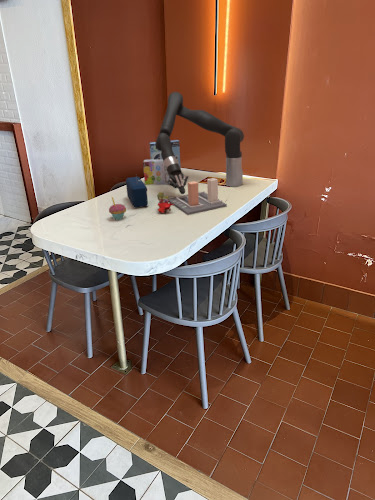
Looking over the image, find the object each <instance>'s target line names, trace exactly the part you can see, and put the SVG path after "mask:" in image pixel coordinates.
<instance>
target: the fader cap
mask: <svg viewBox="0 0 375 500" xmlns="http://www.w3.org/2000/svg"><path fill="white" fill-rule="evenodd" d="M198 192H199V183H198V182H197V181H187V195H188V205H190V206H196V205H199V195H198Z"/></svg>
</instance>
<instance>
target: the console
mask: <svg viewBox="0 0 375 500" xmlns="http://www.w3.org/2000/svg"><path fill="white" fill-rule="evenodd" d="M198 195H199V205H196V206H190V205H188V194H182V195H178V196H173V197H169V202H168V204H170V202H171V204H174V205H173V206H174V207H175V208H177V209H178V210H180V211H181V212H182V213H185V214H186V215H187V216H189V215H194V214H200V213H203V212H207V211H211V210H216V209H221V208H225V207H228V206H227V203H225V202H224V201H223V200H221V199H219V198H218V201H215V202H209V201H208V192H206V191H198Z"/></svg>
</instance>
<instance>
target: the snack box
mask: <svg viewBox="0 0 375 500" xmlns="http://www.w3.org/2000/svg"><path fill="white" fill-rule="evenodd" d="M142 164H143V165H142V166H143V167H142V168H143V175H144V184H145V185H146V186H147V185H149V186H150V185H169V184H168V183H167V182H168V180H169V175H168V172H167V170H166V167H165V164H164V161H163V159H158V160H151V159H144V160H143V161H142Z"/></svg>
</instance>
